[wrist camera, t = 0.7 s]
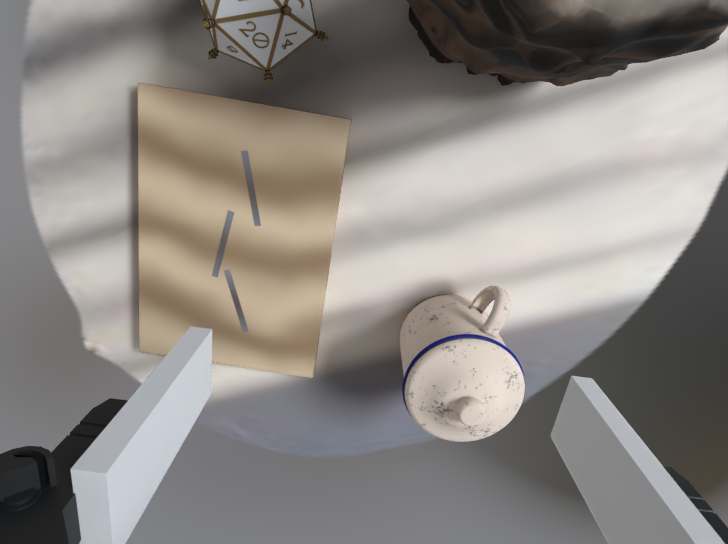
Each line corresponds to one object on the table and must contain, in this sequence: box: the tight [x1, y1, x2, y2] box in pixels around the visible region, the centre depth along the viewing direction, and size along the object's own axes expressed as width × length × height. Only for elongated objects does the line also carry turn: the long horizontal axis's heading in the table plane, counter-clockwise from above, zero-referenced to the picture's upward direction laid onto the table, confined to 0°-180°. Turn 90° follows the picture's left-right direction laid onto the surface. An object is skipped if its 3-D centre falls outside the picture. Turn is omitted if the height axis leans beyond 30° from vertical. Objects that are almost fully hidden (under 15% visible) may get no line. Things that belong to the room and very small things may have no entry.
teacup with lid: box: [399, 286, 525, 442], centre depth 35 cm, size 12×9×12 cm
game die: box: [199, 0, 328, 85], centre depth 29 cm, size 9×8×10 cm
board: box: [138, 83, 351, 378], centre depth 38 cm, size 23×16×2 cm
